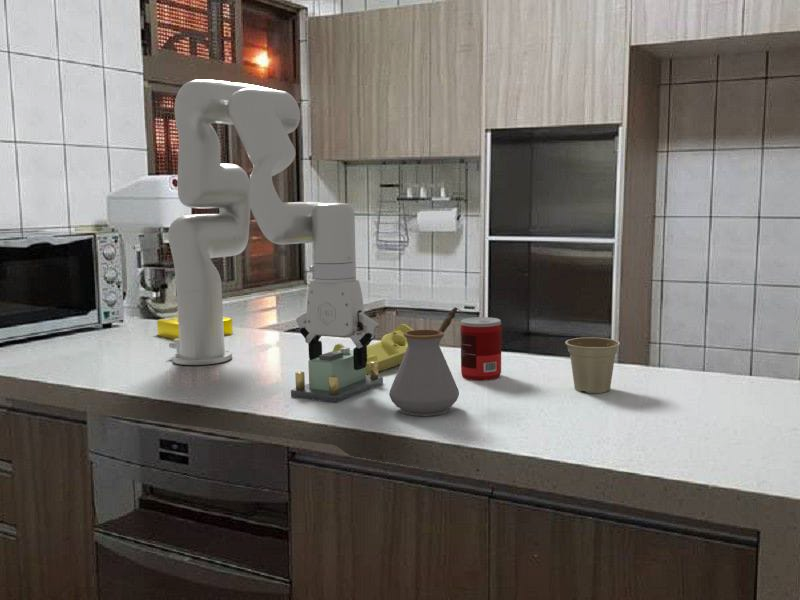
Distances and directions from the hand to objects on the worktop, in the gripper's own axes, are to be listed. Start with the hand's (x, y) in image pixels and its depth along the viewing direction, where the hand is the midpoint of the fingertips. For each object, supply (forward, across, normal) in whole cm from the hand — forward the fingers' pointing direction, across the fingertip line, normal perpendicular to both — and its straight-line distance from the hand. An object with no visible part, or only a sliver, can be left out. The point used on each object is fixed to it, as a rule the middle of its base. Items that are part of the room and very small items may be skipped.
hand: (337, 366), depth 144 cm
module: (+3, 0, 0) cm, 3 cm away
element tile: (+5, -68, +33) cm, 76 cm away
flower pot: (+5, +41, +20) cm, 46 cm away
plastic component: (+5, -4, +21) cm, 22 cm away
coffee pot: (+5, +20, 0) cm, 21 cm away
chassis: (+4, 0, 0) cm, 4 cm away
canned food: (+5, +19, +21) cm, 29 cm away
